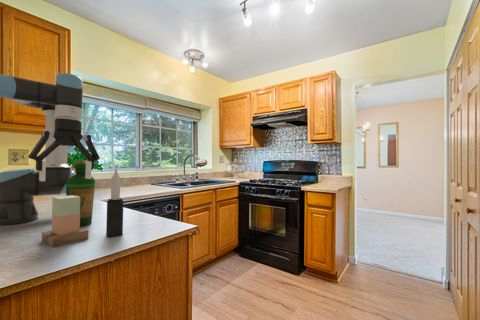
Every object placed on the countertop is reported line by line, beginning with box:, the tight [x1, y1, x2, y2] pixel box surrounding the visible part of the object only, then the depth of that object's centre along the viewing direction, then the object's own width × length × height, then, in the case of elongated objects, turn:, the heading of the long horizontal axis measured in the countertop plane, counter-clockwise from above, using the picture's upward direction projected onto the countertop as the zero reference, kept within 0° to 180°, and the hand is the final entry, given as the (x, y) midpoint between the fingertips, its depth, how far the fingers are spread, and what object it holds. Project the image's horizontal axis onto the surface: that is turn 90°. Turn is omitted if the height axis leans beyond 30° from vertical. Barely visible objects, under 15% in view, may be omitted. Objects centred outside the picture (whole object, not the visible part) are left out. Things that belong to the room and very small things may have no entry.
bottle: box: [65, 159, 96, 227], centre depth 97 cm, size 11×11×28 cm
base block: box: [41, 226, 90, 248], centre depth 78 cm, size 10×10×3 cm
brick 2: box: [51, 214, 81, 235], centre depth 78 cm, size 6×6×6 cm
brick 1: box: [51, 195, 80, 217], centre depth 78 cm, size 6×6×6 cm
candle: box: [105, 168, 124, 238], centre depth 84 cm, size 5×5×25 cm
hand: (66, 179), depth 78 cm, fingers open, 13 cm apart
